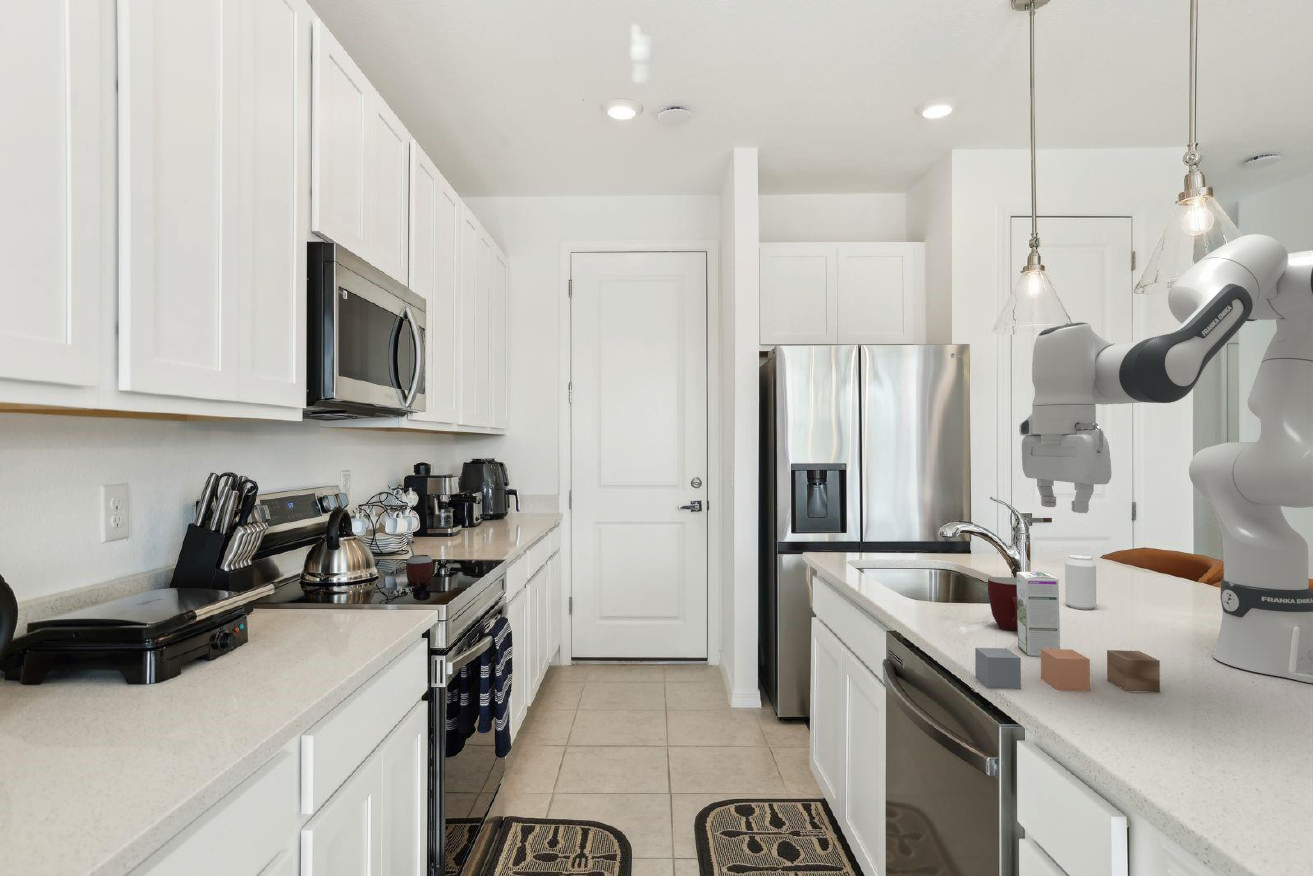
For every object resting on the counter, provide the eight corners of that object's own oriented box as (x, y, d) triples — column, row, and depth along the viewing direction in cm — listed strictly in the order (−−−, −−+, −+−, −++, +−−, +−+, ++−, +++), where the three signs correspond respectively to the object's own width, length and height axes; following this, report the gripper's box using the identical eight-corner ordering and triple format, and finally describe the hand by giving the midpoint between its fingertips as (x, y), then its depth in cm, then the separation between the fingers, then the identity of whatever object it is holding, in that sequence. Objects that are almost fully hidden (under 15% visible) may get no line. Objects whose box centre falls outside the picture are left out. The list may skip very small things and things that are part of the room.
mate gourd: (435, 582, 189) (435, 528, 189) (429, 588, 181) (429, 532, 181) (407, 583, 188) (408, 529, 188) (400, 589, 180) (400, 533, 180)
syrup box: (1061, 658, 122) (1061, 577, 122) (1025, 656, 123) (1025, 576, 123) (1049, 648, 127) (1049, 571, 128) (1015, 646, 129) (1015, 570, 129)
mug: (1045, 637, 135) (1045, 587, 135) (1003, 637, 135) (1003, 587, 135) (1020, 623, 145) (1019, 577, 145) (981, 623, 146) (981, 576, 146)
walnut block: (1139, 681, 110) (1138, 650, 110) (1159, 692, 105) (1159, 660, 105) (1107, 680, 111) (1107, 650, 111) (1126, 692, 106) (1126, 660, 106)
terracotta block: (1072, 680, 111) (1072, 649, 111) (1089, 691, 106) (1089, 659, 106) (1040, 679, 111) (1040, 649, 111) (1056, 690, 106) (1056, 658, 106)
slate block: (1006, 678, 112) (1006, 648, 112) (1020, 689, 107) (1020, 658, 107) (975, 677, 112) (975, 647, 112) (988, 688, 107) (988, 657, 107)
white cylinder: (1096, 611, 155) (1096, 559, 155) (1064, 608, 158) (1064, 557, 158) (1096, 606, 160) (1096, 555, 160) (1065, 603, 164) (1065, 553, 164)
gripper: (1124, 422, 98) (1124, 516, 98) (1051, 425, 119) (1051, 504, 119) (1079, 422, 99) (1079, 516, 99) (1014, 425, 119) (1014, 503, 119)
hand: (1063, 509), depth 109 cm, fingers open, 8 cm apart
